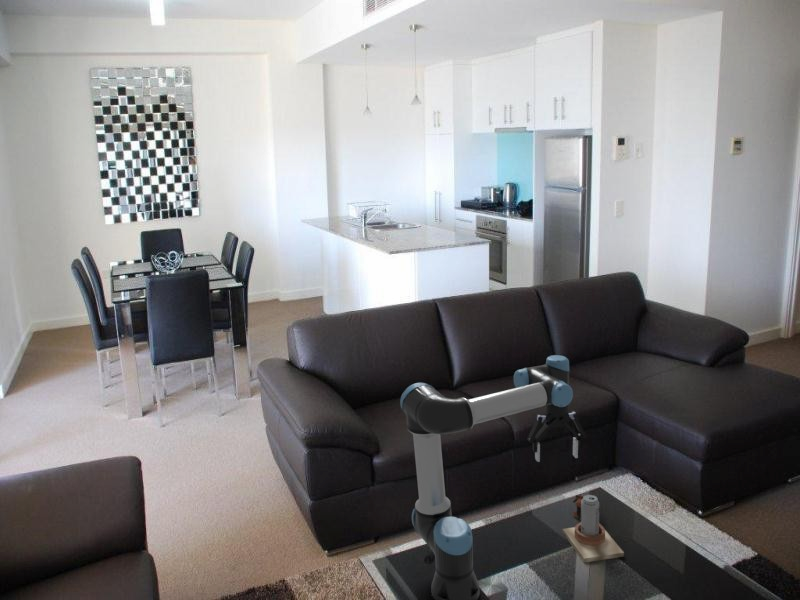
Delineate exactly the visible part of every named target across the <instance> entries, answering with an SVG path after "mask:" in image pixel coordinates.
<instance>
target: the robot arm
mask: <svg viewBox="0 0 800 600" xmlns="http://www.w3.org/2000/svg"><path fill="white" fill-rule="evenodd" d="M570 371H571V370H570V360H569V358H567V356H564V355H561V354H560V355H559V354H558V355H557V354H556V355H555V354H553V355H549V356H547V358H546V361H545V364H541V365H537V366H530V367H524V368H521V369H517V370H516V371H515V372H514V374H513V385H514V388H509V389H507V390H502V391H497V392H494V393H490V394H489V393H488V394H486V395H481V396H478V397H473V398H469V399H467V398H465V397H458V398H450V397H446V396H445V395H443V394H442V393H440V392H439V391H438V390H437V389H435V387H434V386H432V385H430V384H428V383H425V382H416V383H413V384H411V385H409V386H408V387H406V389H405V390H404V391H403V392H402V394H401V396H400V400H399V401H400V402H399V403H400V408H401V410H402V412H403V414H405V415H406V425H407V427H406V428H407V431H408V432H410V433H411V434H412V436H413V437H412V439H413V446H414V459H415V469H416V470H415V471H416V480H417V489H418V490H417V491H418V499H417V500H415V501H416V502H415V504H414V508H413V510H412V513H411V521H412V522H411V523H412V526H413V528H414V530H415V532H416V533H417V535H419V536H420V537H421V539H422V540H423V541H424V542H425V544H426V545H427V546H428V547H429V548H430V550H431V551H432V552H433V554H434V556H435V557H434V559H435V560H434V562H435V572H434V575H433V579H432V581H431V584H430V586H431V587H430V590H431V591H430V592H431V593H432V594H431V597H432V596H433V597H434V599H436V600H479V597H480V592H481V591H480V585H479V581H478V579H477V576H476V574H475V571H474V556H473V555H474V552H473V551H474V550H473V549H474V548H473V544H474V543H473V540H474V539H473V532H472V528H471V526H470V525H469V523H468V522H467V521H465V520H464V519H462V518H458V517H457V516H453V515H452V503H451V500H450V499H449V497H447V496H446V488H445V487H446V486H445V477H444V476H445V475H444V465H443V452H442V441H441V438H442V437H441V435H450V434H456V433H460V432H464V431H468V430H469V431H470V430H471V429H473V427H474V425H477V424H480V423H485V422H488V421H491V420H495V419H499V418H503V417H507V416H511V415H515V414H518V413H521V412H526V411H530V410H533V409H534V410H535V409H537V408H542V407H544V406H545V415H541V414H536V418H535V422H534V424H533V426H532V428H531V429H530V432H529V434H528V436H527V438H526V439H527V441H528V442H529V443H530V444H532V451H533V452H534V459H535V461H536V462H537V463H540V461H541V443H540V441H541V440H542V438H543V437H544V436H545V435H546V434H547V433H548V431H549V430H551V429H552V428H553V429H554V428H555V429H556V428H563V427H564V426H565V427H566V428H567V429H568V430H569V432H571V433H572V434H573V436H574V437H572V456H573V457H574V458H575V459H578V458H579V455H578V454H579V449H580V448H581V442H582V441H583V439H584V438H586V437H587V434H586V432H585V431H584V428H583V426H582V424H581V423H580V421H579V417H578V415H579V414H577V413H576V411H574V410H572V411H571V412H569V407H570V406H569V405H570V403H571V402H572V400H573V398H574V392H573V391H574V390H573V388H572V386H571V385H570ZM569 419H571V420H572V421H573V423H574V425H575V427H576V429H577V431H578V432H576V431H575V429H574V428H573V427H572V426H571V425H570V424H569V423H568V420H569ZM544 421H545V422H544ZM543 422H544V423H543ZM542 423H543V425H542ZM433 597H432V598H433ZM434 599H433V600H434Z"/></svg>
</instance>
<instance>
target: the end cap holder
mask: <svg viewBox="0 0 800 600" xmlns="http://www.w3.org/2000/svg"><path fill="white" fill-rule="evenodd" d="M562 534H563V535H564V537H565V538H566V540H567V541H568V543H570V545H571V547H572V548H573V549H574V550H575V552H576V554H577V555H578V556H579V557H580V559H581V560H582V562H583V563H590V562H596V561H597V562H598V561H602V560H603V561H604V560H609V559H617V558H622V557H625V556H624V555H625V552H624V550H623V549H622V548H621V547H620V546H619V545H618V544H617V542H616V541H615V540H614V538H612V537H611V535H610V533H608V531H607V530H606V529H605V527H604V526H603V525H602V523H599V535H597V536H587V535H584V534H582V533H581V521H580V522H578V523H577V524H575V526H573V527H568V528H562Z"/></svg>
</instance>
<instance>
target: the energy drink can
mask: <svg viewBox="0 0 800 600" xmlns="http://www.w3.org/2000/svg"><path fill="white" fill-rule="evenodd" d="M582 496H583V499H582V501H581V519H580V522H581V533H582V534H584V535H587V536H597V535H599V524H600V512H599V507H600V502H599V500H598V497H597V495H594V494H585V495H582Z"/></svg>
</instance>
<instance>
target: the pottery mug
mask: <svg viewBox="0 0 800 600" xmlns="http://www.w3.org/2000/svg"><path fill="white" fill-rule="evenodd" d="M583 496H584V495H579V494H576V495H575V498H574V499H573V500H572V502H573V504H574V503H575V506H576V510H573V512H572V513H573V517H574V518H577V519H579V520H581V501H582V499H583ZM600 511H601V508H600V506H599V513H600Z"/></svg>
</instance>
